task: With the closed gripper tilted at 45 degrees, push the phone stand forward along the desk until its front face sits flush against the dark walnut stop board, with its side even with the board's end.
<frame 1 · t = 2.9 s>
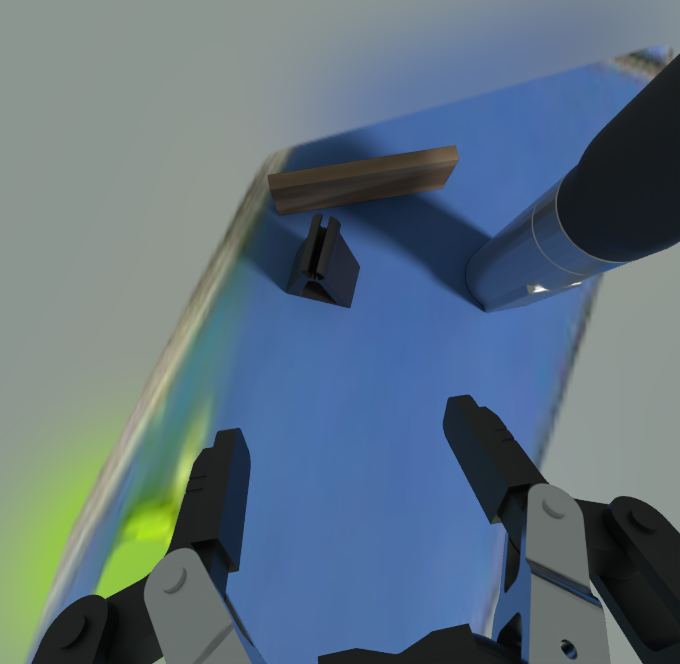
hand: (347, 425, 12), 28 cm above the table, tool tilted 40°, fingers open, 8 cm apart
stop board: (360, 195, 43), on the table
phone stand: (323, 280, 41), on the table
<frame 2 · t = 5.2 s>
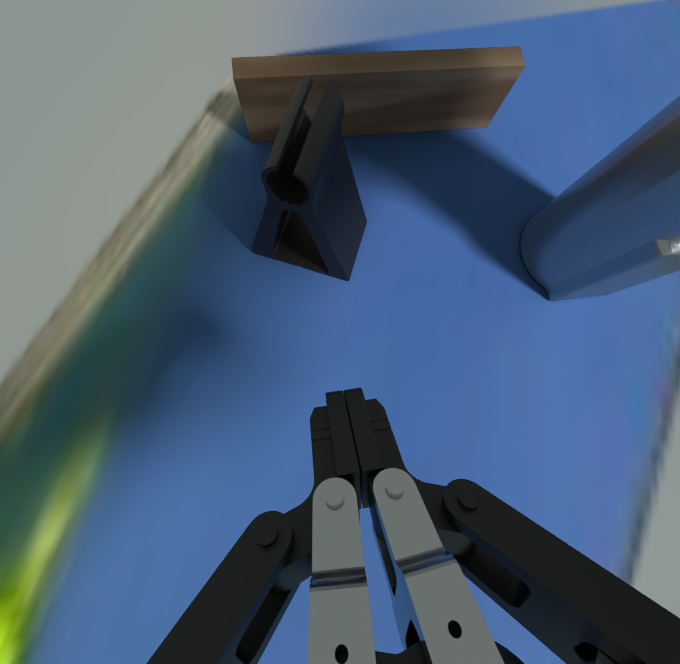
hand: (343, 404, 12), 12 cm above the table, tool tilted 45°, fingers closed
stop board: (371, 126, 30), on the table
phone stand: (310, 239, 27), on the table
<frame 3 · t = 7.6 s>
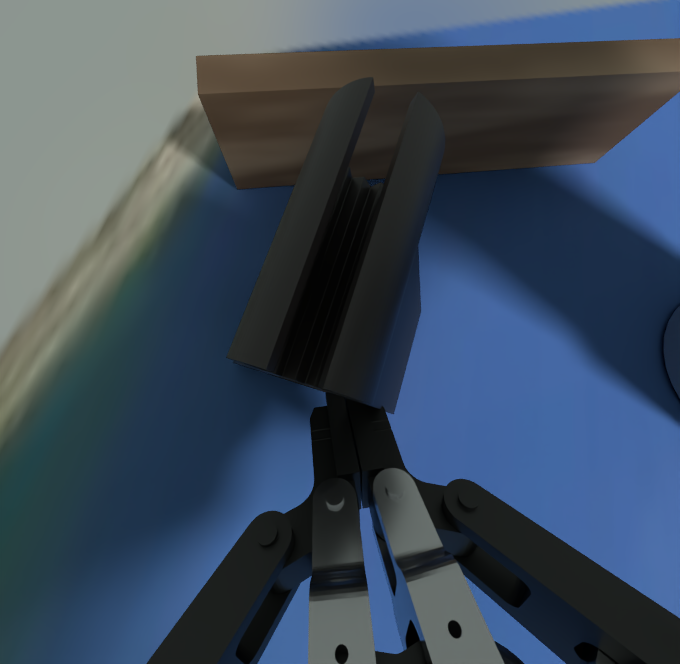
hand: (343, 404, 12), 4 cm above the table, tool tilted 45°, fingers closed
stop board: (422, 161, 20), on the table
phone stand: (330, 338, 17), on the table
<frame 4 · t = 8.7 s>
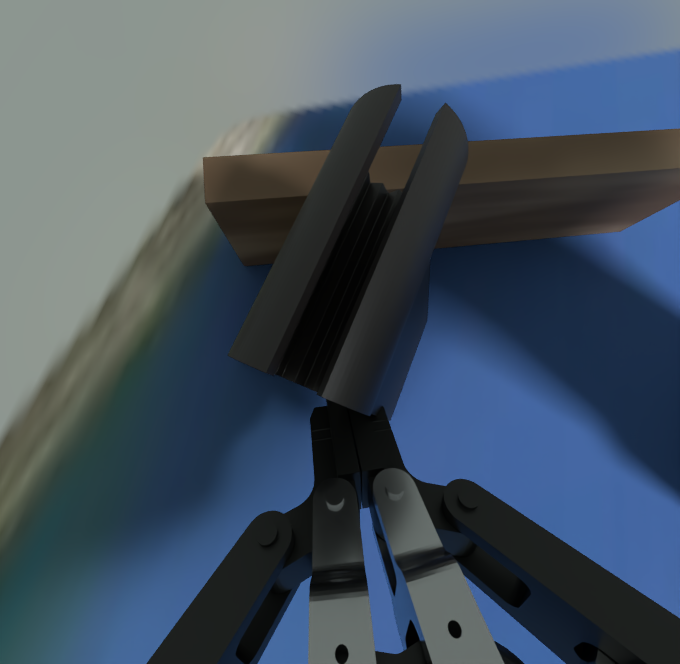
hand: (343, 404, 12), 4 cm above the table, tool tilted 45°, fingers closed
stop board: (439, 233, 19), on the table
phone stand: (333, 338, 17), on the table, touching gripper, stop board
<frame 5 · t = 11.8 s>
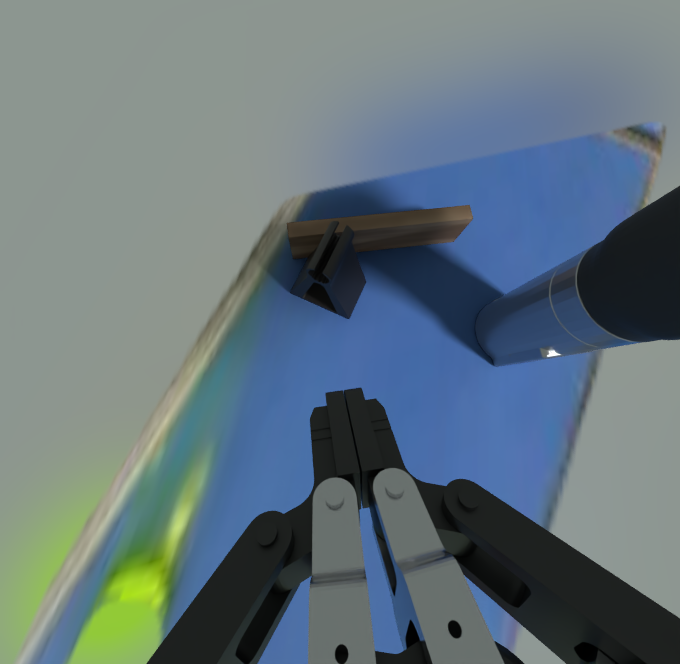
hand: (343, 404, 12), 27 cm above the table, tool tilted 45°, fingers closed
stop board: (374, 244, 44), on the table
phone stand: (328, 288, 42), on the table
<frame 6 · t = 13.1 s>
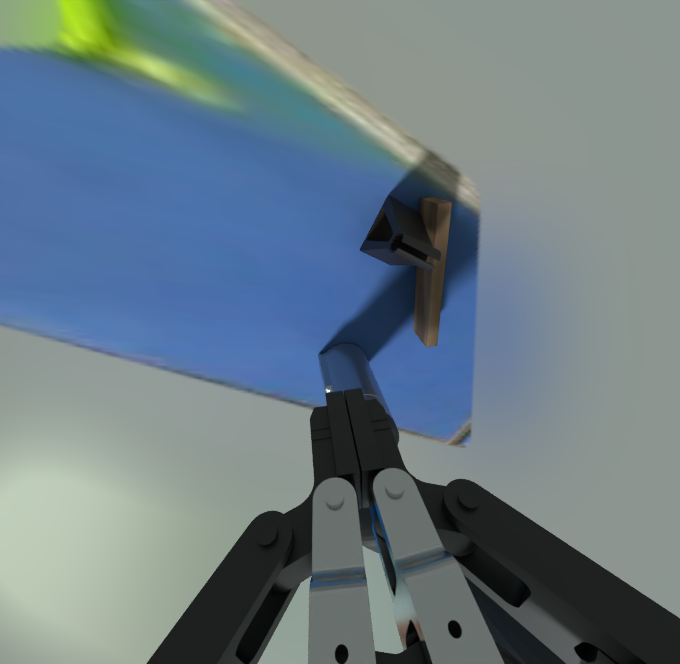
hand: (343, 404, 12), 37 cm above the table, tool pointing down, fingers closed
stop board: (421, 271, 52), on the table
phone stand: (388, 231, 48), on the table
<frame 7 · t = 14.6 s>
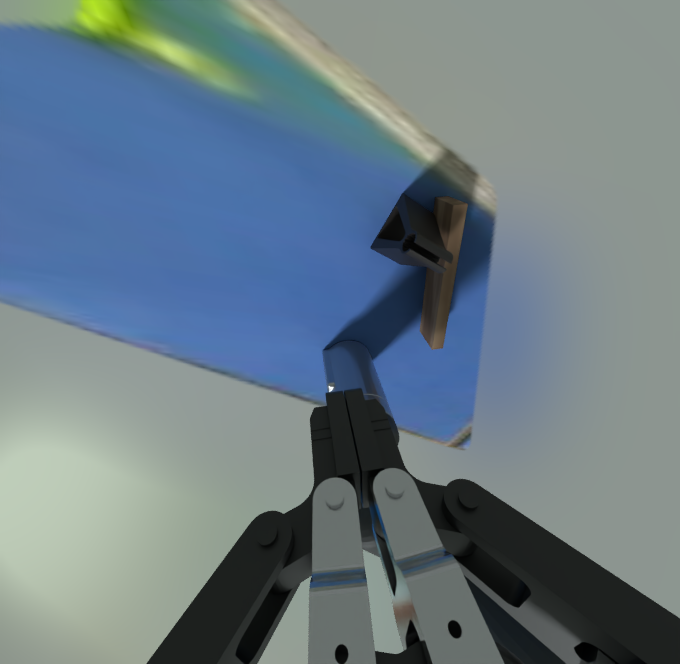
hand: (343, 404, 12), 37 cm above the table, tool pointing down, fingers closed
stop board: (432, 272, 51), on the table
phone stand: (400, 230, 47), on the table
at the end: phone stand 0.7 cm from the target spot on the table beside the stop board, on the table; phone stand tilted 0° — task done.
